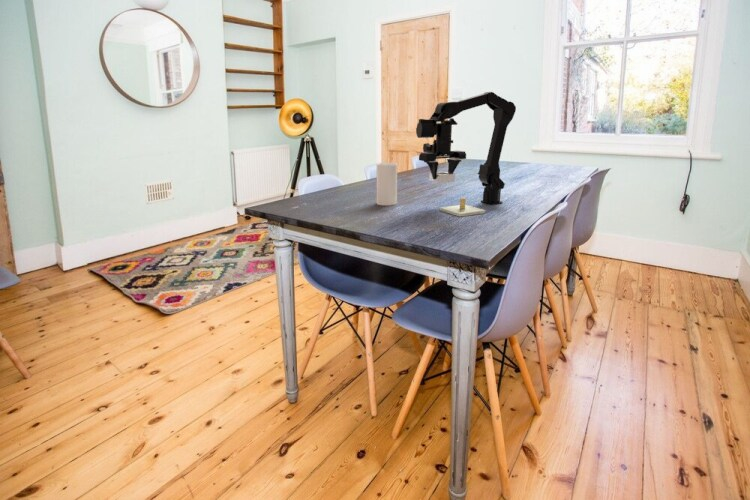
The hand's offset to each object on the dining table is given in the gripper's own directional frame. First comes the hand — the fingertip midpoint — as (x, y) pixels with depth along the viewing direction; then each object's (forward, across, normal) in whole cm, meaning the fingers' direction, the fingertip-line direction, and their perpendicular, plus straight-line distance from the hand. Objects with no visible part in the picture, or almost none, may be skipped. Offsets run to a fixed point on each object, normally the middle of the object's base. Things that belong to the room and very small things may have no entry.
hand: (441, 178), depth 178 cm
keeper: (+11, -1, +12) cm, 16 cm away
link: (+1, 0, 0) cm, 1 cm away
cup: (+11, +16, -15) cm, 25 cm away
